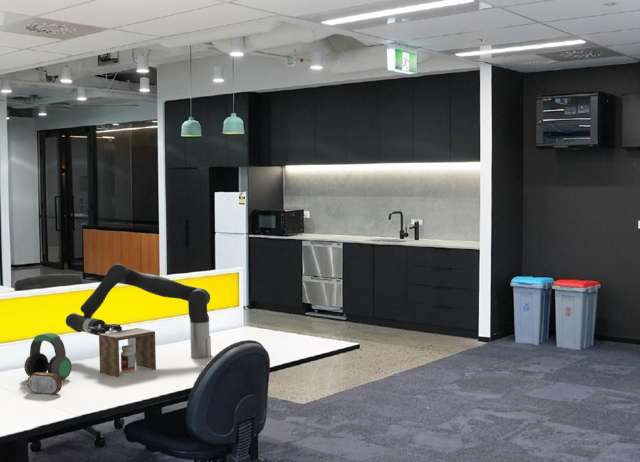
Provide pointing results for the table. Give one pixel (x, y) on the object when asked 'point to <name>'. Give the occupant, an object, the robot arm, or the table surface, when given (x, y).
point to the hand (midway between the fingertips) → (113, 330)
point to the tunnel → (111, 349)
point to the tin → (44, 383)
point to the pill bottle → (127, 359)
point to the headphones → (40, 362)
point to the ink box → (133, 343)
